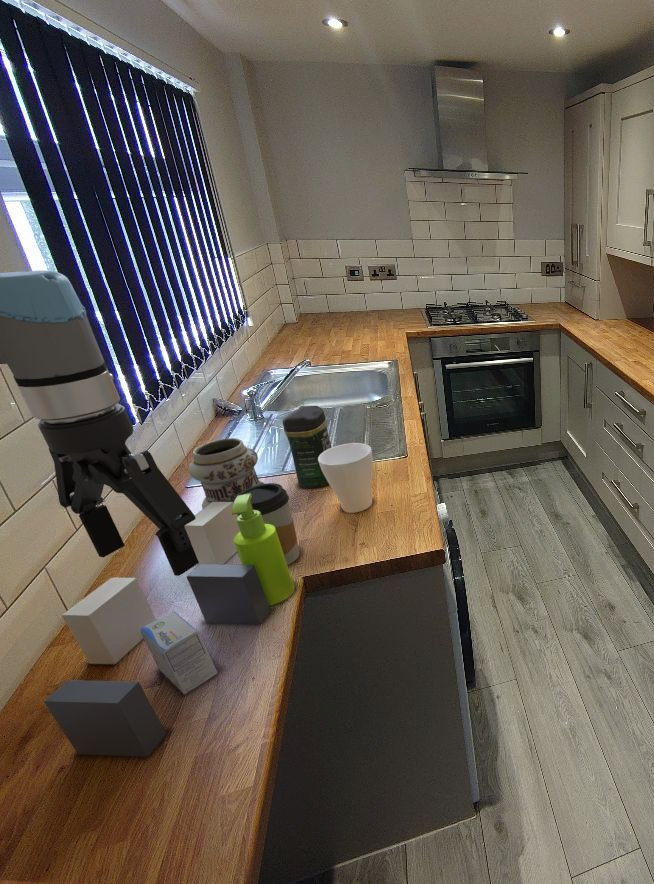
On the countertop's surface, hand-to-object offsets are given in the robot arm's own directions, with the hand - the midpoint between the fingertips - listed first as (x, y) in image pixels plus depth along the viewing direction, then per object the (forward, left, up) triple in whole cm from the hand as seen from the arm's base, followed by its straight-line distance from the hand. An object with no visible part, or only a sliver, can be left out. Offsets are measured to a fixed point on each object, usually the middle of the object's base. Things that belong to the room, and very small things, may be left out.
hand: (148, 560), depth 69 cm
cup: (+4, +44, -20) cm, 48 cm away
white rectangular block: (-14, +4, -20) cm, 24 cm away
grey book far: (0, +10, -20) cm, 22 cm away
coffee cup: (-2, +25, -20) cm, 32 cm away
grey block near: (0, -12, -20) cm, 23 cm away
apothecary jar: (-18, +38, -20) cm, 46 cm away
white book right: (-14, +26, -20) cm, 35 cm away
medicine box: (0, -1, -20) cm, 20 cm away
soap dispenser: (+3, +15, -20) cm, 25 cm away
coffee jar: (-11, +56, -20) cm, 60 cm away
